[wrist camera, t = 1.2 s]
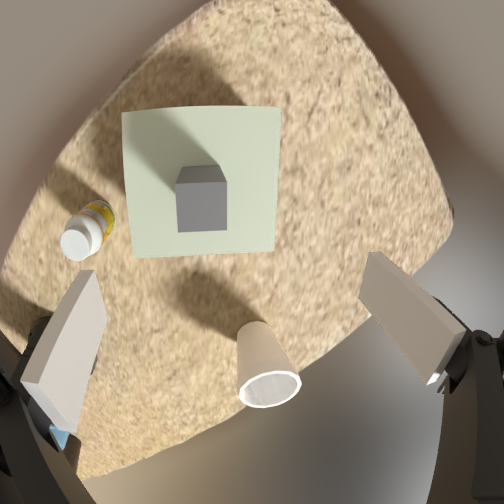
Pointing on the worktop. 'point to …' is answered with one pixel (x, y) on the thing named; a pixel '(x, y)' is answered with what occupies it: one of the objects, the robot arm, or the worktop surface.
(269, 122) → the lid
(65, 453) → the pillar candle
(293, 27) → the worktop surface
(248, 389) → the foam cup
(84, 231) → the supplement bottle
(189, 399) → the worktop surface
